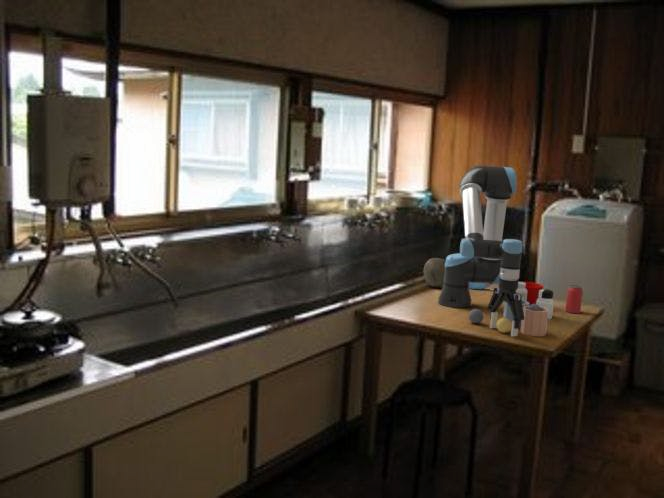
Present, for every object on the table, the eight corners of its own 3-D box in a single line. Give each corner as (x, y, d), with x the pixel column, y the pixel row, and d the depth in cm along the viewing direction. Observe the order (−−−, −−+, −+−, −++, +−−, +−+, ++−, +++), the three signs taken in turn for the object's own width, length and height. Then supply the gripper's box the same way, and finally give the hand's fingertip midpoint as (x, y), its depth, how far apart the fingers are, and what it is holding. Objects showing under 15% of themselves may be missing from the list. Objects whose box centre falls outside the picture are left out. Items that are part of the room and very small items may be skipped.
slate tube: (497, 322, 309) (499, 299, 307) (515, 321, 314) (518, 298, 312) (513, 328, 301) (515, 305, 299) (531, 327, 305) (534, 303, 304)
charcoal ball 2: (525, 320, 295) (522, 306, 299) (536, 322, 298) (533, 308, 301) (535, 314, 291) (531, 300, 294) (546, 316, 294) (543, 302, 297)
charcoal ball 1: (465, 321, 307) (466, 307, 306) (476, 320, 310) (477, 307, 309) (474, 325, 302) (475, 311, 301) (485, 324, 305) (487, 310, 304)
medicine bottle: (552, 316, 328) (555, 289, 326) (551, 319, 321) (554, 292, 319) (535, 313, 330) (538, 287, 328) (534, 317, 323) (537, 290, 321)
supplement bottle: (515, 308, 339) (518, 280, 337) (528, 311, 334) (531, 283, 332) (507, 309, 334) (510, 282, 332) (520, 313, 329) (523, 285, 327)
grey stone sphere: (455, 289, 373) (457, 259, 371) (433, 290, 366) (436, 261, 363) (437, 283, 385) (439, 255, 382) (415, 284, 377) (418, 256, 375)
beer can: (581, 314, 334) (584, 288, 332) (566, 312, 336) (569, 287, 334) (579, 311, 341) (582, 285, 339) (564, 309, 342) (567, 284, 340)
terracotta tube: (515, 330, 298) (517, 306, 297) (534, 328, 303) (536, 305, 301) (532, 337, 290) (534, 312, 288) (551, 335, 295) (553, 310, 293)
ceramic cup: (533, 300, 357) (535, 280, 355) (544, 309, 340) (547, 288, 338) (507, 299, 356) (509, 279, 355) (517, 307, 339) (519, 286, 338)
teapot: (483, 285, 389) (485, 265, 387) (494, 291, 374) (496, 271, 372) (456, 284, 386) (458, 265, 385) (466, 290, 372) (468, 270, 370)
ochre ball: (492, 331, 295) (494, 316, 294) (504, 330, 298) (505, 315, 297) (502, 335, 290) (504, 320, 289) (514, 333, 293) (515, 319, 292)
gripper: (481, 272, 299) (476, 324, 303) (522, 285, 278) (516, 340, 282) (496, 272, 303) (490, 323, 306) (537, 284, 282) (531, 339, 285)
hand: (503, 331), depth 294 cm, fingers open, 12 cm apart
